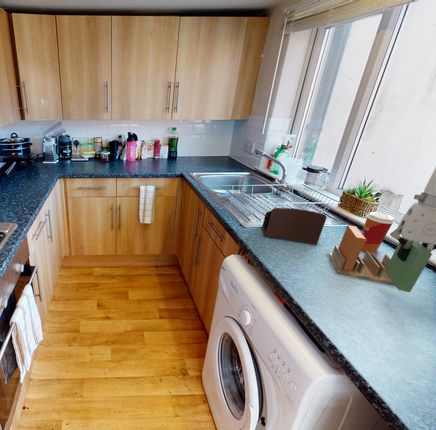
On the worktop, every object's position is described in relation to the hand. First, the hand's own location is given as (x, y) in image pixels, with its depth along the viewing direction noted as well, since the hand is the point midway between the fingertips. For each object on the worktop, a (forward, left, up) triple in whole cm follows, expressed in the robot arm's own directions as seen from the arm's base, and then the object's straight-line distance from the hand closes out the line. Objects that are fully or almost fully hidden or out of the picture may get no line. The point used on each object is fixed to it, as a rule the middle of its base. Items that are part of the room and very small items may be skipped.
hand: (408, 259), depth 83 cm
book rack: (+3, -15, -14) cm, 21 cm away
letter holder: (+24, -33, -14) cm, 43 cm away
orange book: (+8, -15, -13) cm, 22 cm away
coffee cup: (-4, -33, -14) cm, 36 cm away
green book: (0, 0, -8) cm, 8 cm away
